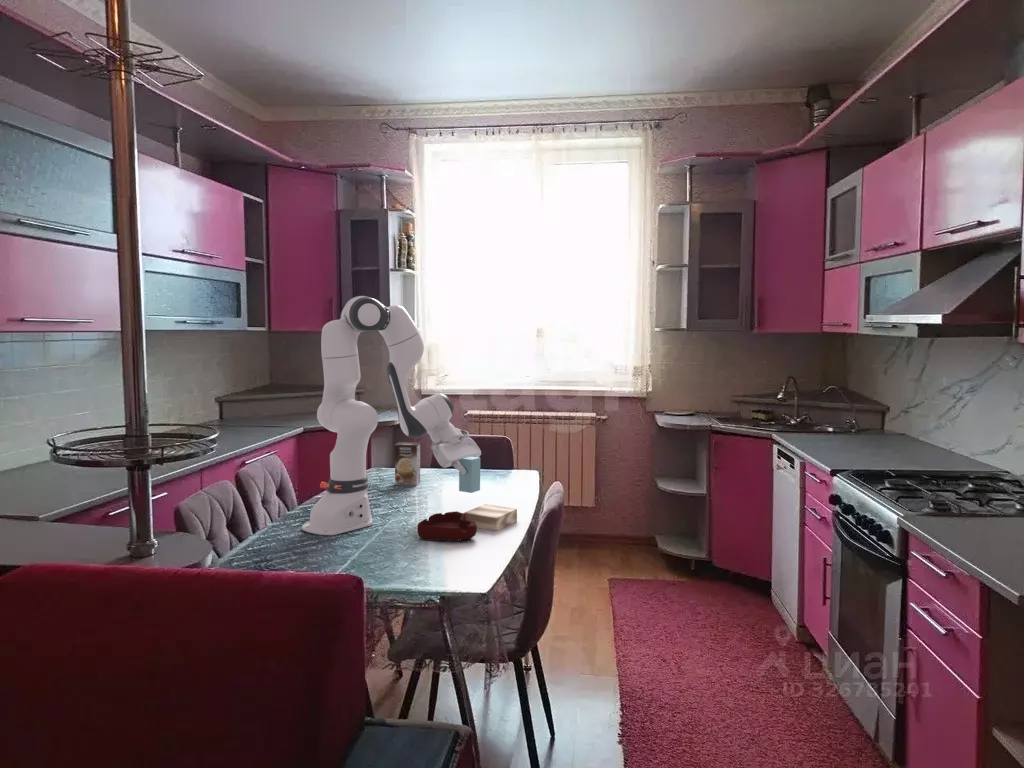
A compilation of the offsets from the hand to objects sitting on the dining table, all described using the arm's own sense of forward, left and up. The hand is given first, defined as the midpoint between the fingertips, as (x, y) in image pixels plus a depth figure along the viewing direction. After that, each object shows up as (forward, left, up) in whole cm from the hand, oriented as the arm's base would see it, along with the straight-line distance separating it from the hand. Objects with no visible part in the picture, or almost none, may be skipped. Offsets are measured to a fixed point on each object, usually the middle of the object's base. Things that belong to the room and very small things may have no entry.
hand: (471, 471), depth 228 cm
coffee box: (+21, +45, -14) cm, 52 cm away
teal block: (0, +1, -6) cm, 6 cm away
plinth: (-8, -13, -14) cm, 20 cm away
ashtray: (-25, -8, -14) cm, 30 cm away
